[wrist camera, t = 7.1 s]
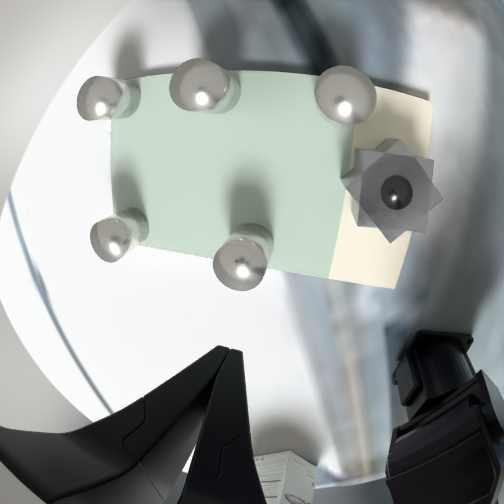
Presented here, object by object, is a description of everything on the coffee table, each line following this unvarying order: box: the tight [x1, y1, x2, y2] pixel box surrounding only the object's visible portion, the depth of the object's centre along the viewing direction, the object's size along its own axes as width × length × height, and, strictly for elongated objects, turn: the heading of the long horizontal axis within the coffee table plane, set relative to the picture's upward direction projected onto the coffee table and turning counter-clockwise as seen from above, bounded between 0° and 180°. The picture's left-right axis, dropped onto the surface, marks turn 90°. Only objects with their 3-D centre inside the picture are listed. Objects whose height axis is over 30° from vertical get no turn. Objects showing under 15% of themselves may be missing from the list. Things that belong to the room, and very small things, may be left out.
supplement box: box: [254, 450, 317, 504], centre depth 27 cm, size 7×7×13 cm
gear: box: [341, 138, 443, 244], centre depth 14 cm, size 6×6×3 cm
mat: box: [111, 70, 434, 289], centre depth 18 cm, size 22×13×1 cm, turn 85°
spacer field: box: [77, 58, 377, 291], centre depth 16 cm, size 18×13×4 cm
